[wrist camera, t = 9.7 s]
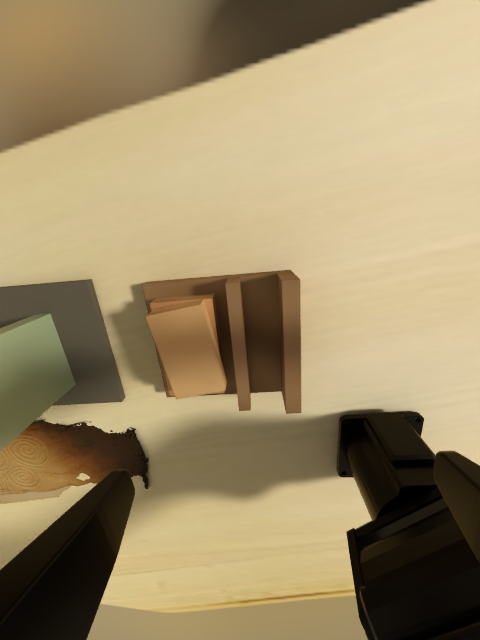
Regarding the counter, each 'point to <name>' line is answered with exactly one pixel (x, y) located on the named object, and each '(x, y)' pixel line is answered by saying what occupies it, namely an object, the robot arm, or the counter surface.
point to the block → (30, 373)
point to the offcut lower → (212, 313)
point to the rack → (250, 330)
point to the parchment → (64, 459)
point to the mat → (71, 335)
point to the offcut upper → (188, 349)
